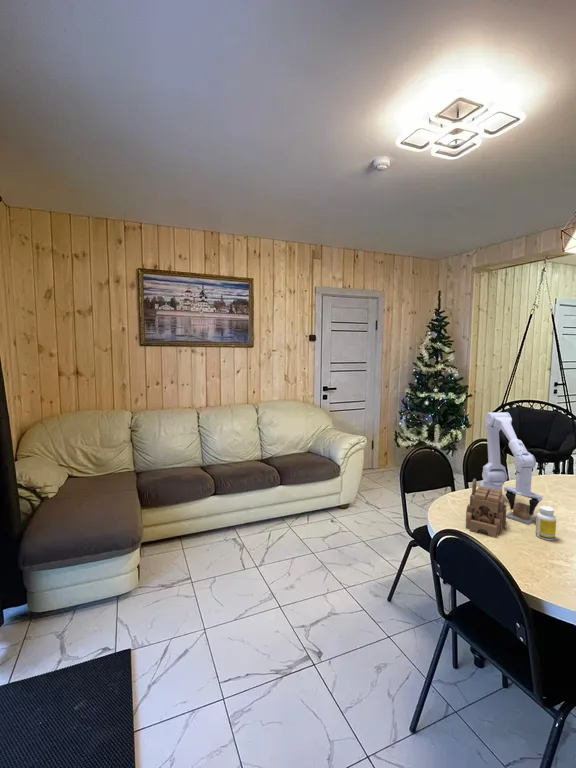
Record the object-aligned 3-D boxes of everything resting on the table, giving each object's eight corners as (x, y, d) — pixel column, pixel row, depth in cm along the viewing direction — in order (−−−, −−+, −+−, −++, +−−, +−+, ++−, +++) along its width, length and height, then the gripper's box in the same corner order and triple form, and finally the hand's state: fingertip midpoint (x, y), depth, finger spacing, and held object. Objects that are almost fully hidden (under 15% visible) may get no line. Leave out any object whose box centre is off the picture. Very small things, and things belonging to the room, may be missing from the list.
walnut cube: (513, 515, 167) (513, 504, 167) (517, 513, 170) (518, 502, 170) (525, 519, 163) (526, 508, 163) (530, 516, 166) (530, 505, 166)
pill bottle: (558, 541, 146) (560, 512, 145) (539, 539, 147) (541, 511, 146) (550, 534, 152) (552, 505, 151) (532, 532, 153) (534, 504, 152)
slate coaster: (505, 517, 167) (505, 515, 167) (514, 512, 173) (514, 510, 173) (528, 524, 160) (528, 522, 160) (536, 519, 165) (536, 517, 165)
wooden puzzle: (502, 539, 147) (504, 493, 146) (461, 529, 156) (463, 485, 154) (507, 519, 165) (510, 478, 164) (471, 511, 173) (473, 471, 172)
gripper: (501, 479, 168) (500, 508, 170) (538, 488, 157) (536, 520, 158) (508, 476, 173) (507, 504, 174) (545, 485, 161) (543, 515, 162)
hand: (521, 511), depth 166 cm, fingers open, 7 cm apart
